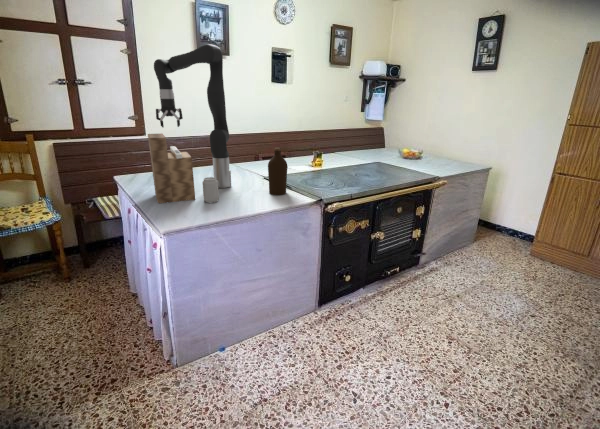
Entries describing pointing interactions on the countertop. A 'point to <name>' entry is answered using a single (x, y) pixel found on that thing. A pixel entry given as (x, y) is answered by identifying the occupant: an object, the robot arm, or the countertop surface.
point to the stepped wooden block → (170, 172)
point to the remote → (175, 152)
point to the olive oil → (277, 174)
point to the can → (210, 190)
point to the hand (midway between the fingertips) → (170, 127)
